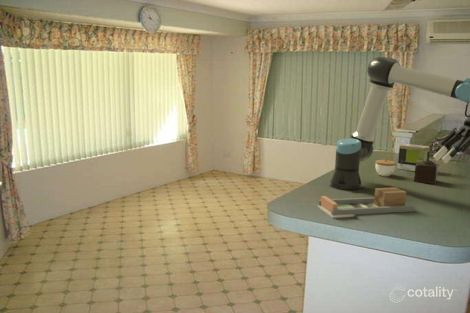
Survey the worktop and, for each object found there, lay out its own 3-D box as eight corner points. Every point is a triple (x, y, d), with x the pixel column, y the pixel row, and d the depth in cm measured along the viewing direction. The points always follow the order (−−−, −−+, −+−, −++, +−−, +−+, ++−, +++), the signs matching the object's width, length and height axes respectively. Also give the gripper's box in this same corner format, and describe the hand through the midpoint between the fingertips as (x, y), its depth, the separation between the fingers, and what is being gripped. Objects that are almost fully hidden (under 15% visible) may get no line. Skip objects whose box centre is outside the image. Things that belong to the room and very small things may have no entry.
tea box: (428, 170, 248) (430, 146, 245) (422, 173, 241) (425, 148, 238) (402, 166, 258) (405, 143, 255) (396, 168, 251) (399, 144, 248)
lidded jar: (398, 176, 230) (400, 160, 228) (383, 178, 226) (384, 161, 224) (385, 172, 240) (386, 156, 238) (370, 173, 236) (371, 157, 234)
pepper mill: (435, 185, 214) (440, 150, 211) (413, 181, 220) (416, 148, 217) (440, 179, 227) (444, 147, 223) (419, 176, 233) (422, 144, 229)
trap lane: (317, 206, 173) (318, 195, 172) (393, 202, 181) (394, 191, 180) (332, 217, 160) (333, 205, 159) (414, 213, 168) (415, 201, 167)
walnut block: (373, 204, 175) (375, 188, 174) (394, 203, 177) (396, 187, 176) (383, 209, 168) (384, 193, 167) (404, 208, 171) (406, 192, 169)
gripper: (499, 130, 168) (459, 170, 167) (466, 124, 185) (430, 161, 184) (490, 117, 166) (449, 158, 165) (457, 112, 182) (421, 150, 182)
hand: (439, 159), depth 175 cm, fingers open, 4 cm apart
